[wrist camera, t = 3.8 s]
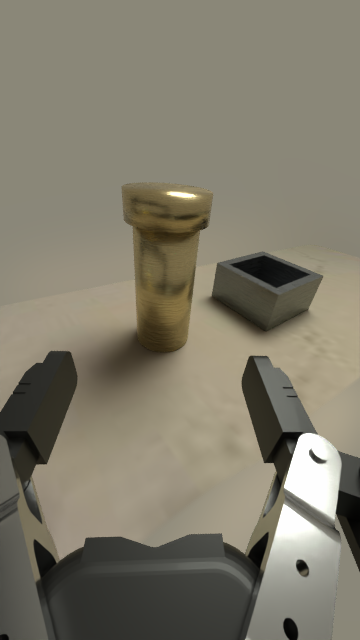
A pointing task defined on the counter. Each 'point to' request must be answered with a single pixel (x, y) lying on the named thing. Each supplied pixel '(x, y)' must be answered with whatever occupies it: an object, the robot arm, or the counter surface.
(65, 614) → the robot arm
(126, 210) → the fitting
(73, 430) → the counter surface
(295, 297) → the open metal box
